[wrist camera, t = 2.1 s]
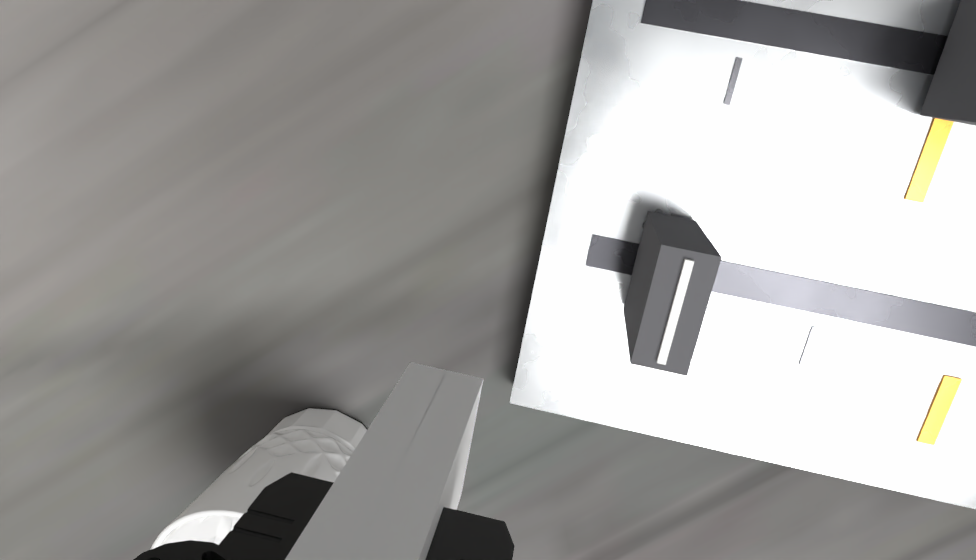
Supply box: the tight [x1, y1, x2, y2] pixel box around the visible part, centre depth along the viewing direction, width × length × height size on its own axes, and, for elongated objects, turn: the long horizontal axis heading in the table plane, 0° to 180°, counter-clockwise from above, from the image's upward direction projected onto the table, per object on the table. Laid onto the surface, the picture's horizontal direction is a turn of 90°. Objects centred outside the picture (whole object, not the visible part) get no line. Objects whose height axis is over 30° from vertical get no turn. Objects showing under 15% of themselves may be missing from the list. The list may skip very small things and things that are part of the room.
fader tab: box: [623, 211, 722, 376], centre depth 26 cm, size 4×2×6 cm, turn 170°
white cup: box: [151, 408, 367, 549], centre depth 33 cm, size 8×8×10 cm
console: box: [510, 0, 976, 509], centre depth 29 cm, size 22×24×2 cm
